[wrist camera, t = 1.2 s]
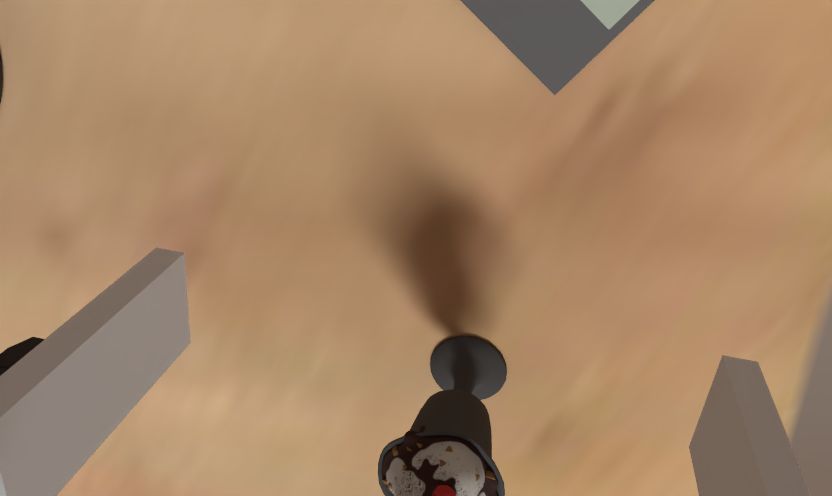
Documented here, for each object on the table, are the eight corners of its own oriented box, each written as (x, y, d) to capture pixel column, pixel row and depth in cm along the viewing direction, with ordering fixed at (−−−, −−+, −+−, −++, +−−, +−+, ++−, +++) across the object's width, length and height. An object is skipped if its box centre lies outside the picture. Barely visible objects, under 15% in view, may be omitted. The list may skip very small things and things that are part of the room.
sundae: (497, 312, 42) (459, 494, 29) (534, 398, 45) (514, 604, 31) (401, 336, 45) (326, 516, 31) (440, 417, 47) (385, 617, 34)
